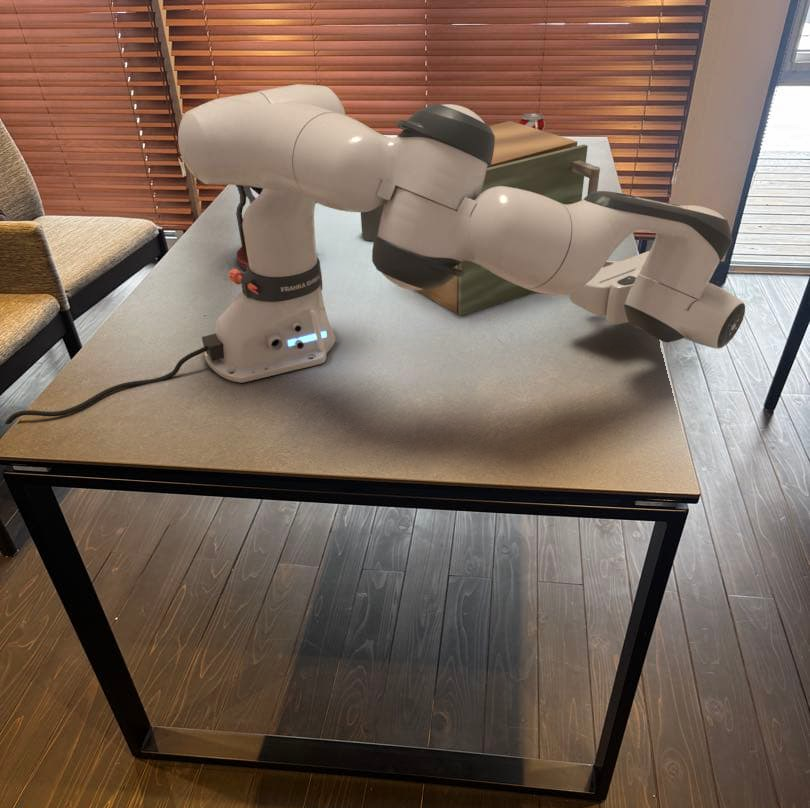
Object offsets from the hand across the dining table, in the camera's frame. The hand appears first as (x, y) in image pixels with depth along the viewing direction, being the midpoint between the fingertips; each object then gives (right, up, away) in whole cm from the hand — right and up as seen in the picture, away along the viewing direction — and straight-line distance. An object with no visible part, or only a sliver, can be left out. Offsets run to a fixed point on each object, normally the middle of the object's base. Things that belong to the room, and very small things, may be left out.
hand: (591, 264), depth 136 cm
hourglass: (-59, +11, +29) cm, 67 cm away
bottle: (-39, +19, +37) cm, 57 cm away
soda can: (0, +49, +69) cm, 85 cm away
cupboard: (-17, +4, +18) cm, 25 cm away
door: (-10, -3, +10) cm, 14 cm away
